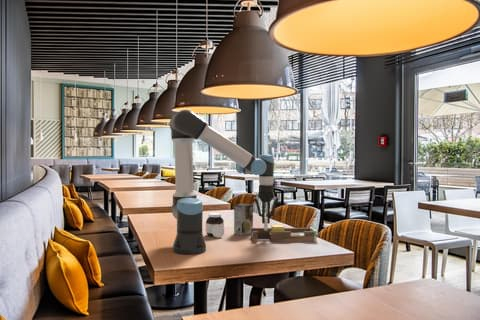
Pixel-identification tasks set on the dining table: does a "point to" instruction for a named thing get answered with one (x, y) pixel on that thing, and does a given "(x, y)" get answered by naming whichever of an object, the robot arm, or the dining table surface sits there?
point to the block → (277, 228)
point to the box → (284, 235)
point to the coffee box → (243, 219)
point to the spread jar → (215, 225)
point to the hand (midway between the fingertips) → (265, 229)
